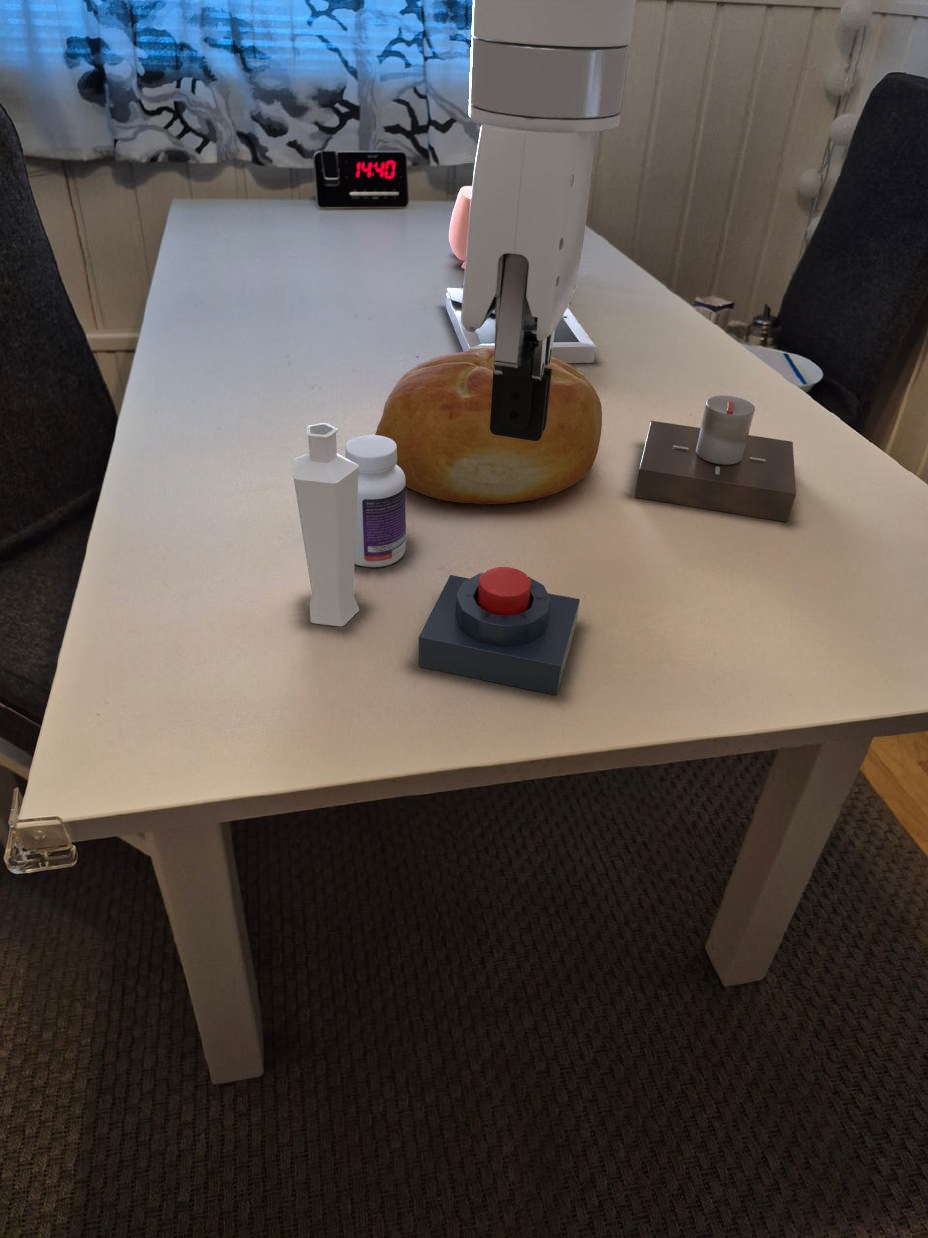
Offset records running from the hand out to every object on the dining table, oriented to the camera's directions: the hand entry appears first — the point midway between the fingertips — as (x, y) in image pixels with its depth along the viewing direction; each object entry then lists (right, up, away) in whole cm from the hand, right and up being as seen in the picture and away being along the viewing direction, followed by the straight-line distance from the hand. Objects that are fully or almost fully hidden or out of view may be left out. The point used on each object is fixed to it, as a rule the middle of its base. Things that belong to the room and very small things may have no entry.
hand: (517, 431), depth 54 cm
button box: (-1, -14, +10) cm, 17 cm away
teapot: (0, +46, +88) cm, 100 cm away
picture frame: (+4, +26, +62) cm, 68 cm away
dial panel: (+21, +2, +32) cm, 38 cm away
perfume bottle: (-13, -11, +13) cm, 22 cm away
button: (-1, -10, +8) cm, 13 cm away
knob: (+21, +4, +30) cm, 37 cm away
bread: (-1, +4, +34) cm, 34 cm away
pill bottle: (-11, -6, +20) cm, 23 cm away
